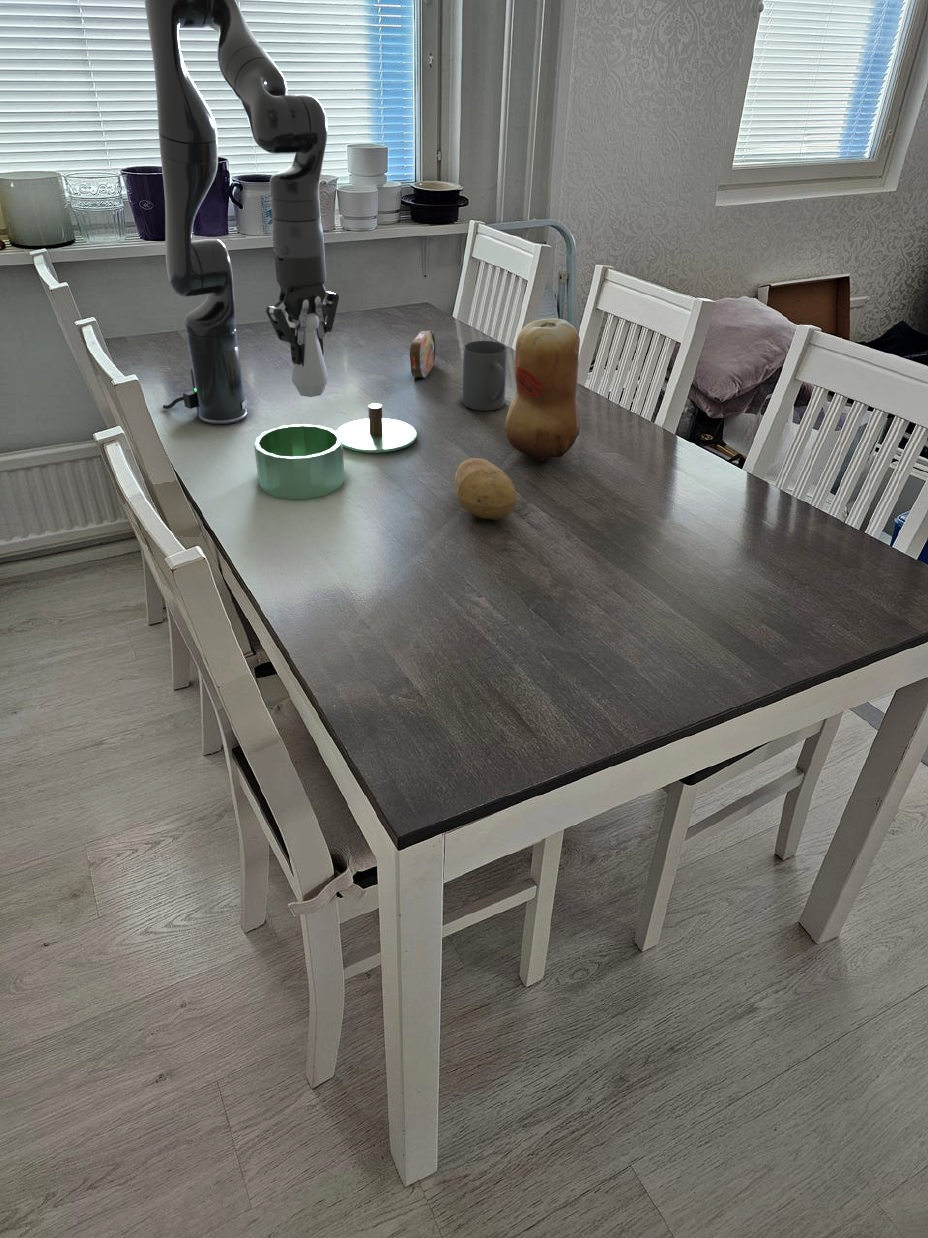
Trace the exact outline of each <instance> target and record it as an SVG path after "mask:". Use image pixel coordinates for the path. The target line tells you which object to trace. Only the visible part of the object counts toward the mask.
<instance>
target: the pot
mask: <svg viewBox="0 0 928 1238" xmlns="http://www.w3.org/2000/svg"><path fill="white" fill-rule="evenodd" d="M336 431H337V430H333V429H332V428H330V427H326V426H321V425H319V424H318V425H317V424H305V423H303V424H289V425H282V426H278V427H274V428H271V429H268V430H266V431H263V432H262V433H261V434H259V435H257V437H256V438H255V440H254V442H253V446H254V453H255V454H254V455H255V461H256V462H255V463H256V470H257V478H258V483H259V486H260V488H261V490H262V491H263V492H265V493H266V494H268V495H270V496H273V497H276V498H279V499H286V500H310V499H316V498H321V497H323V496H326V495H329V494H332V493H334V492H336V491H337V490H339V489H340V488H341V487H342V485H343V484H344V482H345V465H344V463H345V462H344V446H342V438H341V436H340V435H339V433H338V432H336Z"/></svg>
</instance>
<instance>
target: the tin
mask: <svg viewBox="0 0 928 1238" xmlns="http://www.w3.org/2000/svg"><path fill="white" fill-rule="evenodd" d="M409 361H410V362H409V363H410V373H411V375H412V377H413V378H424V379H425V378H427V376H428V374H429V373H430V371H431V370H432V369H433V367H434V365H435V363H436V362H435V361H436V339H435V334H434V332H433V330H421V331H419V333H418V334H417V335H416V336H415V338H414V339H413V340H412V341H411V343H410V346H409Z"/></svg>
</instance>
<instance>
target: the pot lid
mask: <svg viewBox="0 0 928 1238" xmlns="http://www.w3.org/2000/svg"><path fill="white" fill-rule="evenodd" d="M367 407H368V408H367V409H368V418H363V419H358V420H353V421H350V422H347V423H344V424H343V425H341V426H340V427H338V428H337V429H336V430H335V431H336V432H338V433H339V435H340V436H341V438H342V446H343V448H346V449H349V450H352V451H356V452H362V453H372V454H373V453H389V452H394V451H398V450H402V449H405V448H407V447H409V446H411V445H412V444H414V443H415V441H416V440H417V435H418V433H417V430H416V429H415V427H413V426H412V425H411V424H409V423H408V422H405V421H401V420H397V419H392V418H391V419H390V418H383V405H382V404H380V403H371V404H369V405H368V406H367Z"/></svg>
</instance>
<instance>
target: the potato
mask: <svg viewBox="0 0 928 1238" xmlns="http://www.w3.org/2000/svg"><path fill="white" fill-rule="evenodd" d="M454 477H455V478H454V490H455V495H456V496H457V499H458V503H459V505H460V507H461V508H462V509H463V510H465V511H467V512H468V513H470V514H472V515H473V516H475V517H476V518H479V519H487V520H493V521H497V520H500V519H502V518H505V517H508V516H509V515H510V513H511V512H512V511H513V510H514V509H515V508H516V503H517V492H516V489H515V485H514V483H513V481H512V479H511V478H510V477H509V476H508V474H506V473H505V472H504V470H502V469H501V468H499V467H498V466H497V465H495V464H494V463H492V462H491V461H489V460H487V459H484V458H480V457H471V458H469V459H465V460H463V461H462V462H461V463H460V464H459V466H458V467H457V469H456V472H455V475H454Z"/></svg>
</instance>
